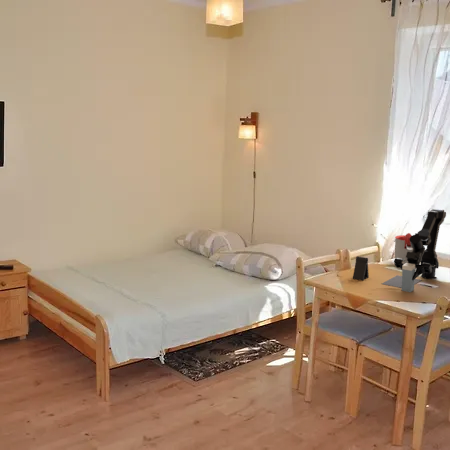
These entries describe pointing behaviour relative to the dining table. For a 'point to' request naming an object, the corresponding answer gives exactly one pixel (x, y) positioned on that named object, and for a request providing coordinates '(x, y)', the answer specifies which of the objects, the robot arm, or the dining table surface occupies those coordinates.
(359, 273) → the black picture frame
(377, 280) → the dining table surface
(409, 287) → the tall block
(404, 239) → the citrus juicer
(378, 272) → the dining table surface
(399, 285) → the rubber mat
